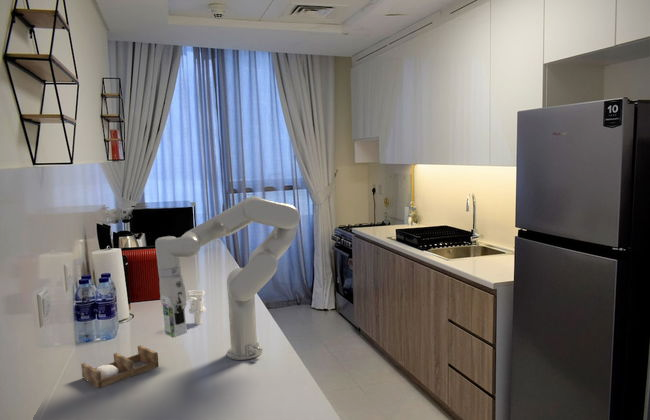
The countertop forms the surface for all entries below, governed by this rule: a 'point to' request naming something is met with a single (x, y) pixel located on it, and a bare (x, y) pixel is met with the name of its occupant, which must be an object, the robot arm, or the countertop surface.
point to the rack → (122, 367)
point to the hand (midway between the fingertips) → (175, 321)
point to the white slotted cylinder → (196, 305)
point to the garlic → (107, 371)
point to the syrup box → (172, 319)
